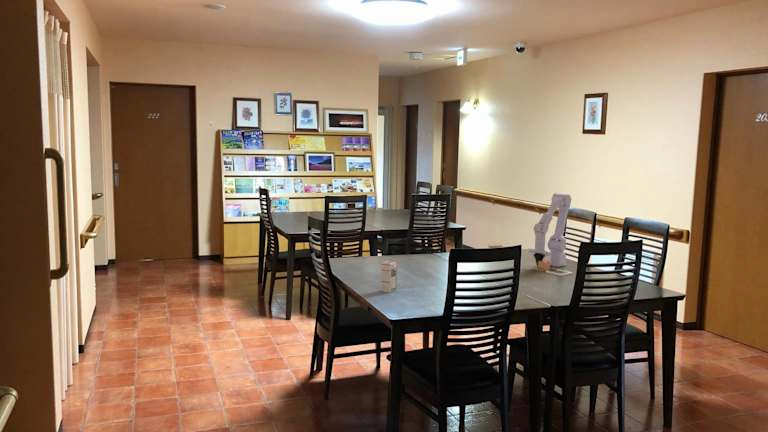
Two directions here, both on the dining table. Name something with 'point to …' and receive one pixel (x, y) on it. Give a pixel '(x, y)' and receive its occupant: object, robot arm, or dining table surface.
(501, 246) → the supplement box
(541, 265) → the terracotta block
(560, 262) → the robot arm
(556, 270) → the parallel wooden rails
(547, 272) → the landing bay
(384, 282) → the syrup box
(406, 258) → the dining table surface
